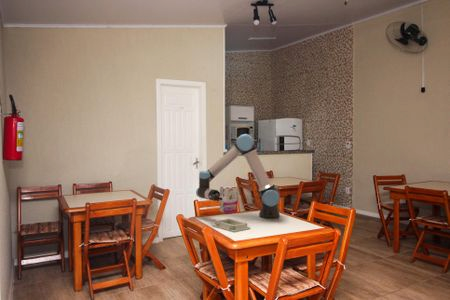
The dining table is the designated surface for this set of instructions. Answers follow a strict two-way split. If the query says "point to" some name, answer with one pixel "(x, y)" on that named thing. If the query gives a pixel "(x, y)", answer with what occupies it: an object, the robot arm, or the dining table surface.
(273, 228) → the dining table surface
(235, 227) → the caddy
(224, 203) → the candy bar box
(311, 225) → the dining table surface
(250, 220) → the dining table surface
